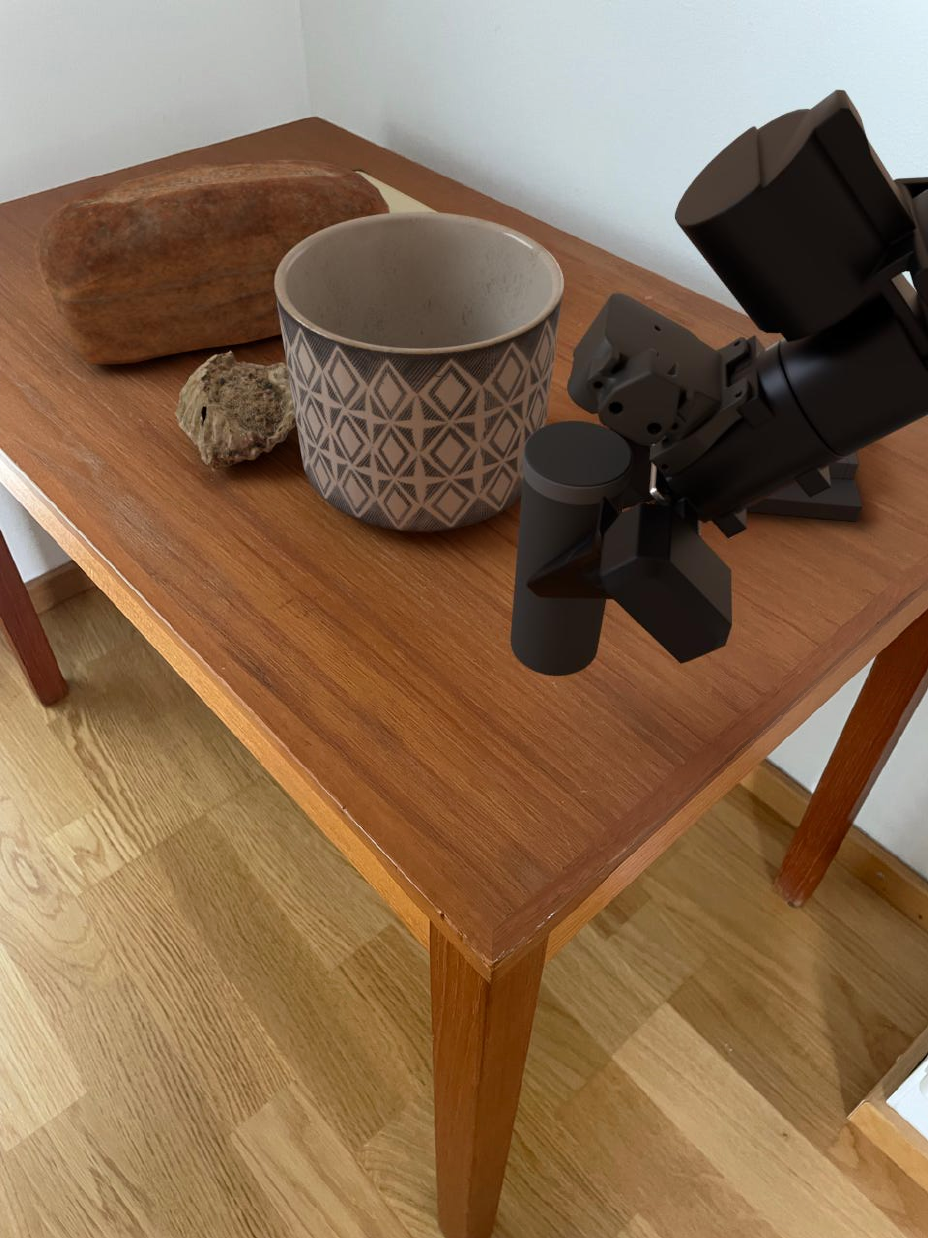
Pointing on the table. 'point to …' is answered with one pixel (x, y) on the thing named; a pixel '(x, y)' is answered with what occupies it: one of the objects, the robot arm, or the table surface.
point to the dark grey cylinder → (563, 538)
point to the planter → (418, 363)
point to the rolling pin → (395, 196)
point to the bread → (188, 253)
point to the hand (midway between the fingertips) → (538, 553)
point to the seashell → (236, 409)
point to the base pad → (819, 496)
